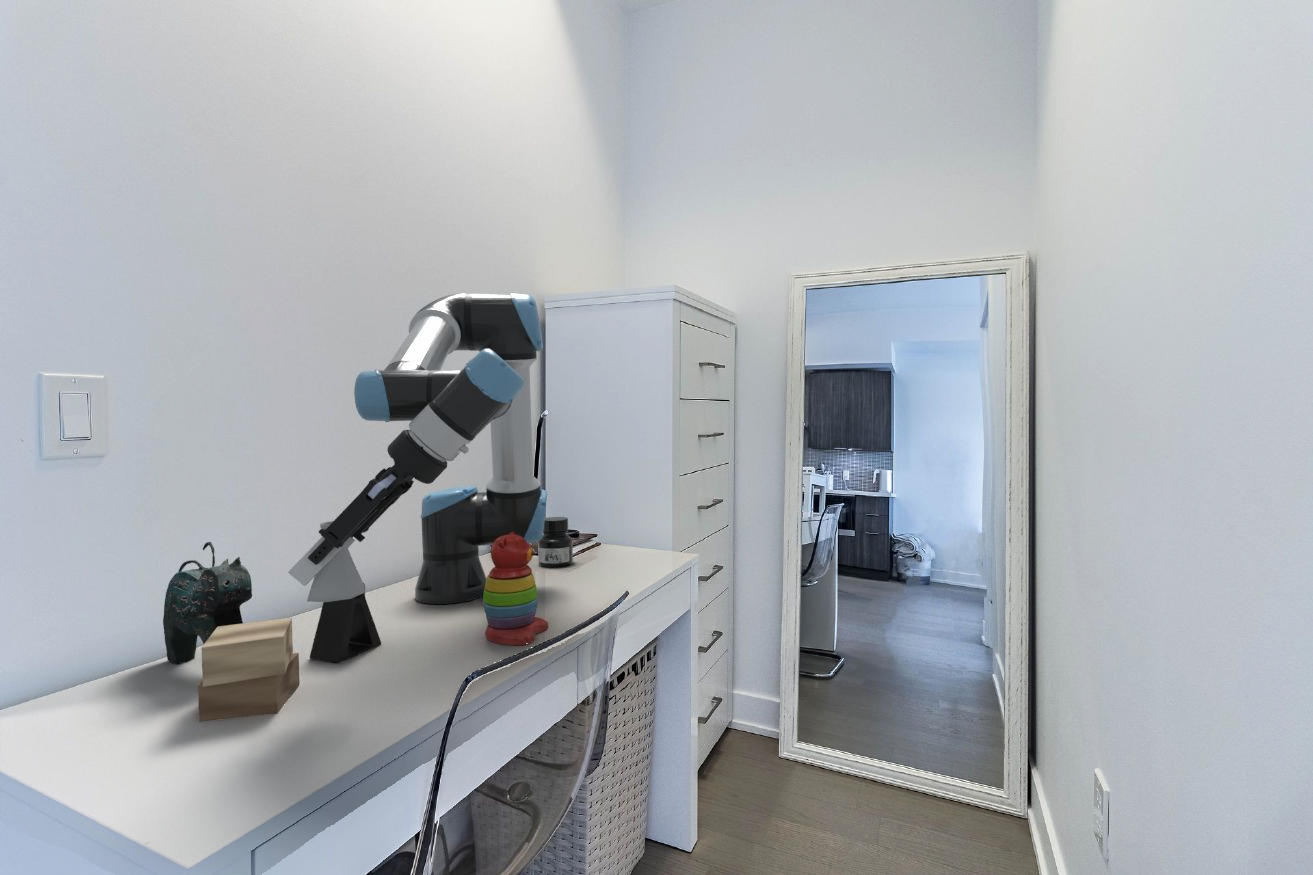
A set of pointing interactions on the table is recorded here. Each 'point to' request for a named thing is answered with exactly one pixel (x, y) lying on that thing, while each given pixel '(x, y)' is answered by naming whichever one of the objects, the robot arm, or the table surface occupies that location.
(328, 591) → the flask
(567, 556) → the ink bottle
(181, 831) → the table surface
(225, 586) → the ceramic cat
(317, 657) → the phone stand
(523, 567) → the stacking bear
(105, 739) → the table surface
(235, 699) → the block lower
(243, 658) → the block upper
